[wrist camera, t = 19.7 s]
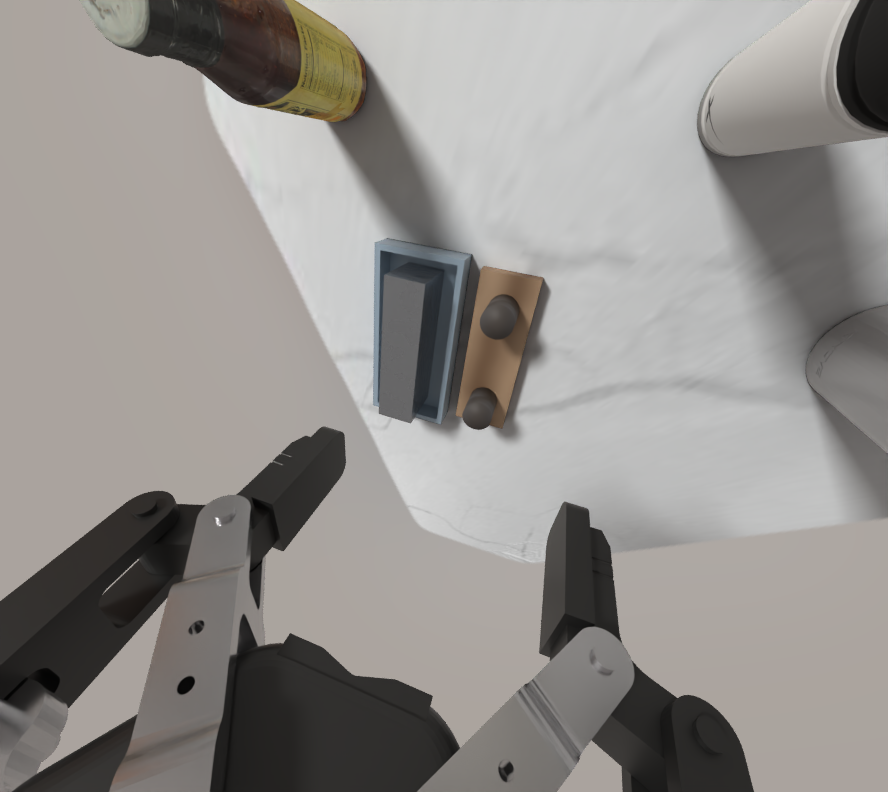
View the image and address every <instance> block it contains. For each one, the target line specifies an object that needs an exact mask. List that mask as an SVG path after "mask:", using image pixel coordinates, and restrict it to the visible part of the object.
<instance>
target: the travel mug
mask: <svg viewBox="0 0 888 792" xmlns="http://www.w3.org/2000/svg"><path fill="white" fill-rule="evenodd" d="M697 127H698V133H699V136H700V139H701V141H702V143H703V144H704V145H705V146H706V148H707V149H709V150H710V151H711V152H713V153H715V154H718V155H720V156H726V157H736V156H745V155H753V154H760V153H768V152H776V151H783V150H791V149H798V148H806V147H814V146H821V145H829V144H837V143H844V142H852V141H859V140H867V139H875V138H882V137H888V0H811V1H809V2H808V3H807V4H805V5H804V6H803V7H801V8H800V9H798V10H797V11H796V12H794V13H793V14H792V15H790V16H789V17H788V18H786V19H785V20H784V21H782V22H781V23H780V24H778V25H777V26H775V27H774V28H773V29H771V30H770V31H769V32H767V33H766V34H765V35H763V36H762V37H761V38H759V39H758V40H757V41H755V42H754V43H753V44H751V45H750V46H749V47H747V48H746V49H744V50H743V51H742V52H740V53H739V54H738V55H736V56H735V57H734V58H733V59H731V60H730V61H729V62H728V63H727V64H726V65H725V66H724V67H723V68H722V69H721V70H720V71H719V72H718V73H717V74H716V76H715V77H714V78H713V80H712V81H711V82H710V84H709V86H708V88H707V89H706V91H705V93H704V95H703V98H702V100H701V103H700V106H699V111H698V117H697Z"/></svg>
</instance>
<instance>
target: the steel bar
mask: <svg viewBox="0 0 888 792" xmlns="http://www.w3.org/2000/svg"><path fill="white" fill-rule="evenodd" d="M444 272H445V270H443V269H438V268H434V267H429V266H425V265H420V264H416V263H411V262H408V263H406V264H404V265H402V266H400V267H398V268H396V269H394V270H392V271H390V272H388V273H386V274H384V290H383V317H382V343H381V369H380V396H379V414H382V415H385V416H388V417H391V418H395V419H398V420H401V421H405V422H408V423H411V422H412V421H413V419H414V418H415V416H416V415H417V413H418V412H419V410H420V408H421V407H422V405H423V404H424V402H425V401H426V399H427V398H428V393H429V385H430V378H431V370H432V363H433V355H434V347H435V340H436V332H437V325H438V317H439V309H440V302H441V294H442V287H443V279H444Z"/></svg>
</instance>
